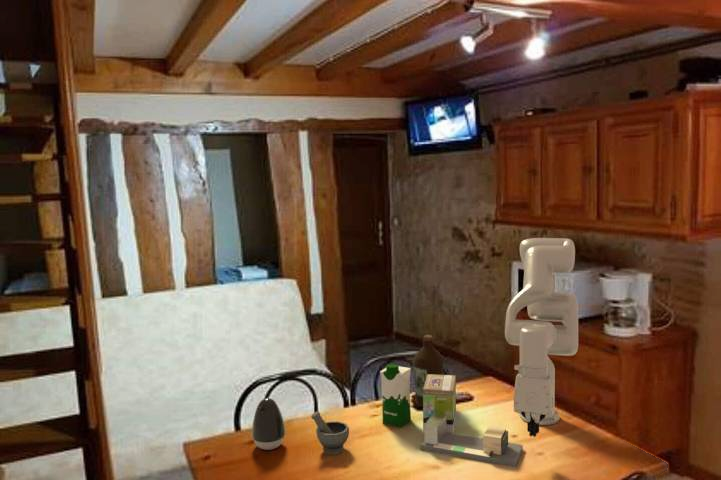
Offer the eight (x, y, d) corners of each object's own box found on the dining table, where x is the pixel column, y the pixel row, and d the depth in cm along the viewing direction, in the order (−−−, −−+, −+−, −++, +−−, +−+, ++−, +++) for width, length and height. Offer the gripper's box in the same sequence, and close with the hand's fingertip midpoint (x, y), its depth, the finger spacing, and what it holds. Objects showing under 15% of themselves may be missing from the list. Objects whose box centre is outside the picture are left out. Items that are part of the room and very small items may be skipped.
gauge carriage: (489, 441, 177) (488, 425, 176) (508, 445, 174) (508, 428, 174) (481, 455, 168) (481, 439, 168) (501, 459, 166) (501, 442, 165)
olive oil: (430, 396, 219) (428, 330, 216) (450, 404, 210) (449, 336, 207) (408, 403, 213) (406, 335, 210) (427, 412, 204) (426, 342, 201)
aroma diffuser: (246, 451, 179) (243, 403, 178) (263, 436, 189) (260, 391, 187) (275, 456, 176) (273, 407, 174) (291, 440, 186) (289, 394, 184)
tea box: (454, 435, 186) (453, 390, 184) (422, 433, 188) (421, 388, 186) (456, 416, 200) (455, 374, 199) (426, 414, 202) (426, 372, 201)
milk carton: (378, 424, 196) (377, 365, 194) (392, 414, 204) (390, 357, 201) (402, 429, 191) (400, 369, 189) (414, 419, 199) (413, 361, 197)
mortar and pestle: (349, 442, 183) (348, 405, 182) (349, 456, 174) (348, 417, 173) (313, 443, 184) (312, 406, 182) (311, 457, 174) (309, 418, 173)
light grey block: (434, 431, 185) (433, 413, 185) (446, 433, 184) (446, 415, 183) (424, 443, 177) (424, 424, 177) (437, 446, 176) (437, 426, 175)
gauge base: (432, 434, 187) (432, 429, 187) (522, 449, 175) (522, 444, 175) (420, 449, 177) (420, 444, 177) (515, 466, 165) (515, 461, 165)
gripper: (503, 371, 165) (503, 435, 166) (559, 378, 158) (559, 444, 160) (509, 364, 172) (509, 425, 173) (563, 370, 165) (562, 433, 167)
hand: (533, 434), depth 167 cm, fingers closed
